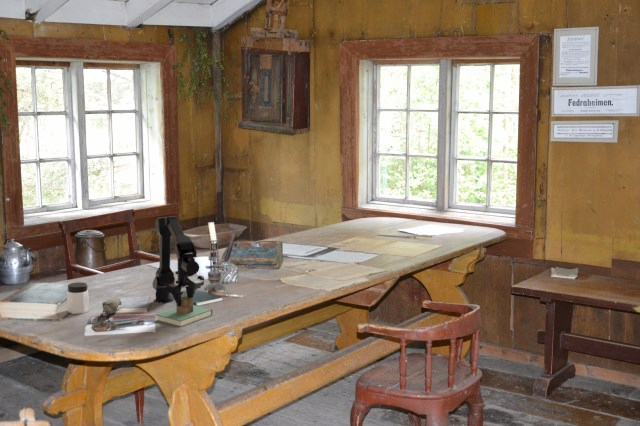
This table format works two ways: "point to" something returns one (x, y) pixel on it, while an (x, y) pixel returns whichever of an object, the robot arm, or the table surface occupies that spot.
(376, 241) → the table surface
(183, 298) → the walnut block
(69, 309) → the jar
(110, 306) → the decorative bird
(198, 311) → the green book
